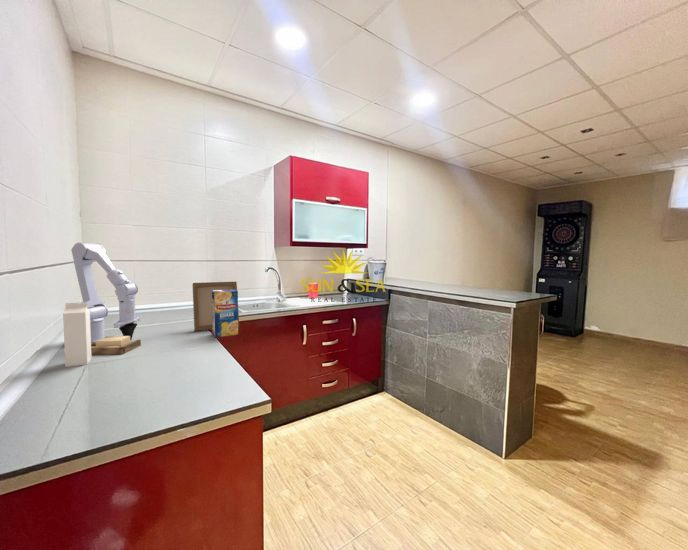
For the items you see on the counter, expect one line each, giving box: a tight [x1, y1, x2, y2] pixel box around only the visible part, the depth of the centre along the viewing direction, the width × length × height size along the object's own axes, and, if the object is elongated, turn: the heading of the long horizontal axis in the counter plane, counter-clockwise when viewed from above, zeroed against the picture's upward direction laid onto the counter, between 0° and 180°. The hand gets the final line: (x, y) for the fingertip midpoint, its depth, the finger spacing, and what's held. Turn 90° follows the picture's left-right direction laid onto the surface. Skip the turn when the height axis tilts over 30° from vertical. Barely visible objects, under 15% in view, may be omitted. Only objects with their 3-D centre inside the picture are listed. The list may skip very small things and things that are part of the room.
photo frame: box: [192, 281, 240, 332], centre depth 162 cm, size 15×22×25 cm
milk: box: [62, 301, 92, 368], centre depth 106 cm, size 6×6×22 cm
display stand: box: [91, 339, 142, 355], centre depth 122 cm, size 16×12×3 cm
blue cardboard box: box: [211, 289, 239, 338], centre depth 148 cm, size 7×11×22 cm, turn 124°
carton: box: [96, 335, 131, 347], centre depth 122 cm, size 9×7×5 cm
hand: (128, 340), depth 132 cm, fingers closed
